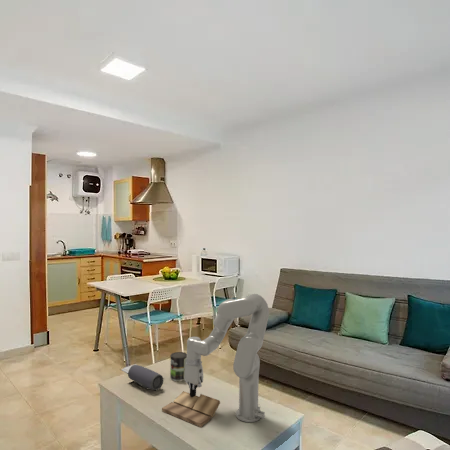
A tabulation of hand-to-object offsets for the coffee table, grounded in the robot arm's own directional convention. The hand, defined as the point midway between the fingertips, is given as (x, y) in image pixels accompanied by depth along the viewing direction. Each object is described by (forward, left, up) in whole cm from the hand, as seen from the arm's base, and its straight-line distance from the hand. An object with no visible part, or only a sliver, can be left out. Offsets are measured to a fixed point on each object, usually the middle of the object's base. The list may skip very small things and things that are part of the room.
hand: (192, 395), depth 186 cm
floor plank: (-5, +11, -4) cm, 13 cm away
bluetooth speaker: (+35, +1, -4) cm, 36 cm away
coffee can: (+27, -19, -4) cm, 34 cm away
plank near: (-12, +3, -1) cm, 12 cm away
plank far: (+1, +3, -3) cm, 4 cm away
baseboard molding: (+49, -8, -5) cm, 50 cm away
